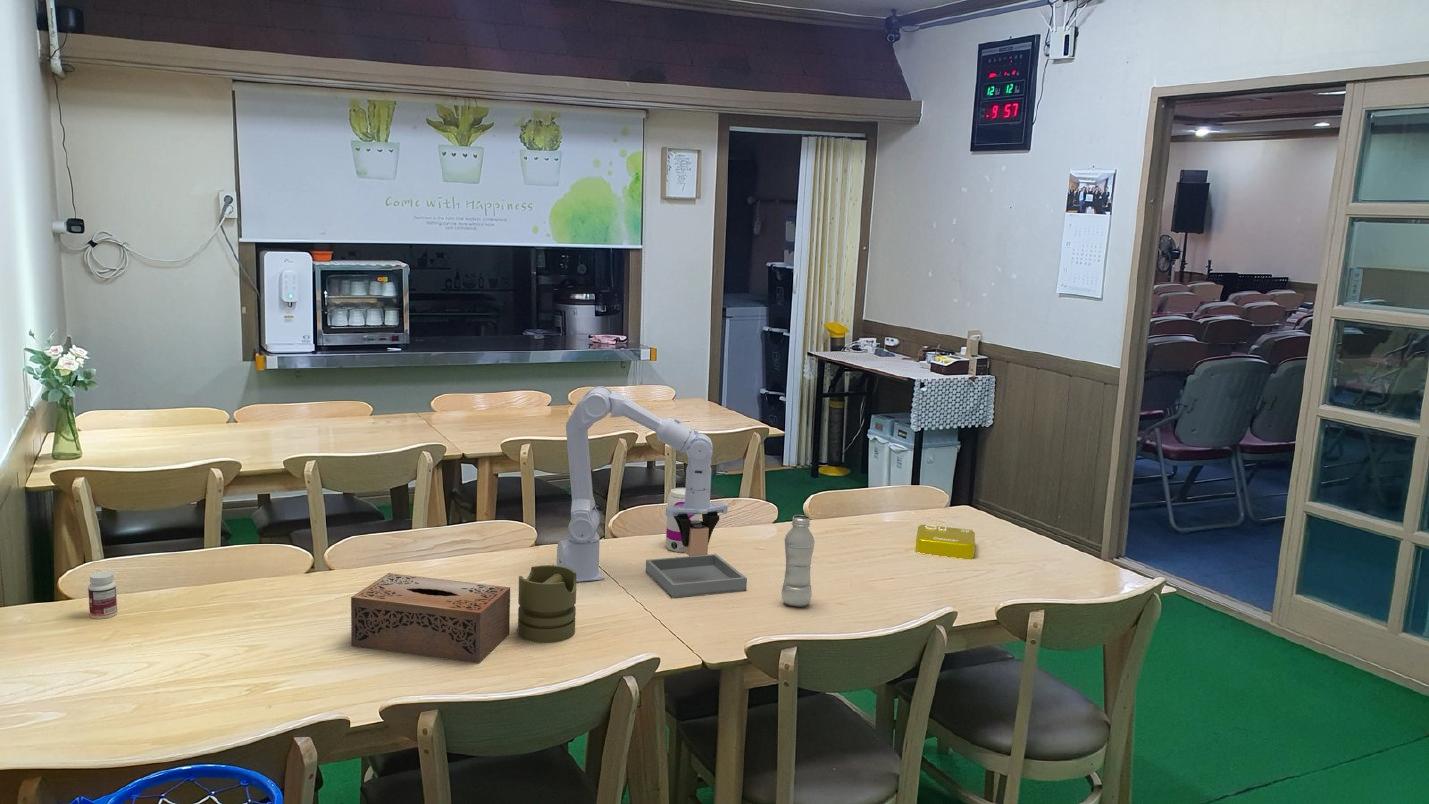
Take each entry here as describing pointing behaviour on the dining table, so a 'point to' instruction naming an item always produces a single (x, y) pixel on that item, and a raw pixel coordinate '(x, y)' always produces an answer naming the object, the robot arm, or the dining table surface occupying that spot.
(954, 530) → the element tile
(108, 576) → the pill bottle
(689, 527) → the robot arm
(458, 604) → the tissue box cover
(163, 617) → the dining table surface
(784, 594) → the plastic bottle
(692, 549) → the shaker
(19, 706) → the dining table surface
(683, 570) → the tray
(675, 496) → the supplement can
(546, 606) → the piston
